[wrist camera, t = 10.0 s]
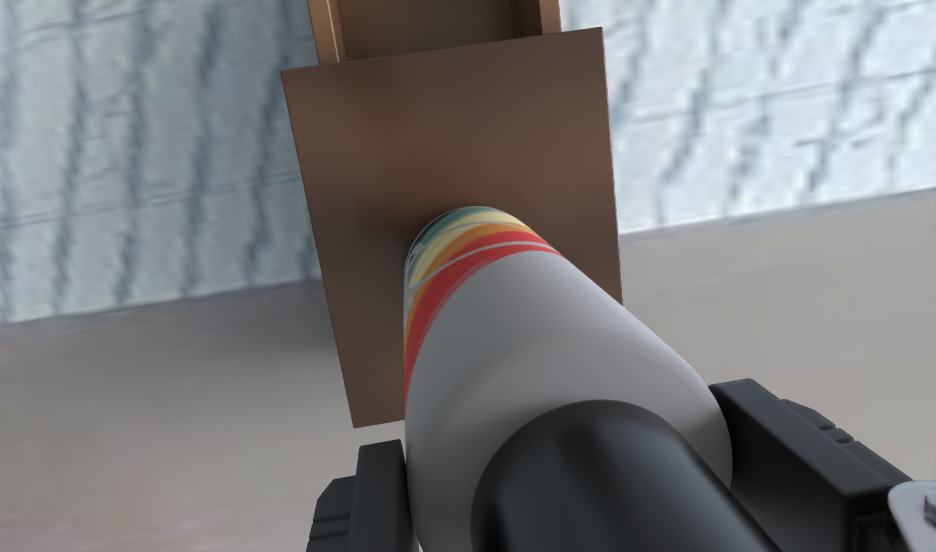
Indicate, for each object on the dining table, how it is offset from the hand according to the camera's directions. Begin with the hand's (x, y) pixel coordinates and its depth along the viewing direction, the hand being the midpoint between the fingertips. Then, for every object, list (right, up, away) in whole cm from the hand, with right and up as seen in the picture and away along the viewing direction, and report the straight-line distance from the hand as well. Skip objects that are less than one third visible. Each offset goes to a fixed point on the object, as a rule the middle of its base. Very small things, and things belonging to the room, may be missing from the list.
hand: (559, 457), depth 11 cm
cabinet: (-2, +7, +22) cm, 23 cm away
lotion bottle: (-1, +3, +14) cm, 14 cm away
